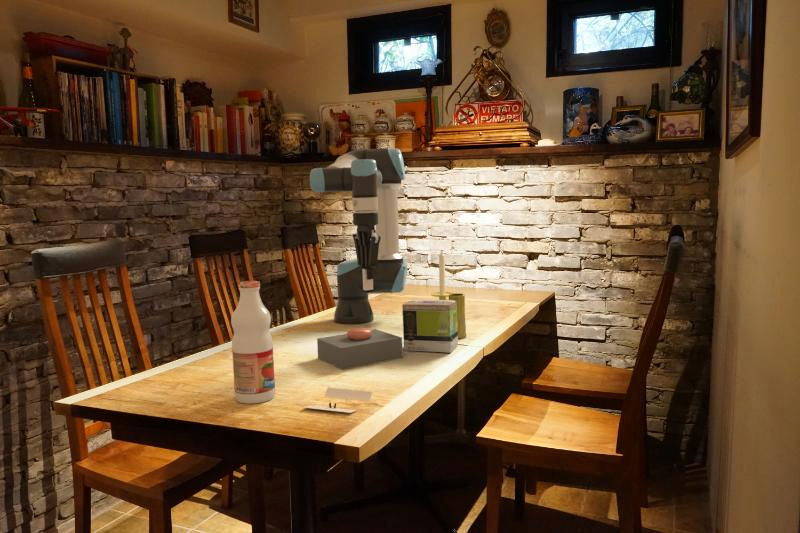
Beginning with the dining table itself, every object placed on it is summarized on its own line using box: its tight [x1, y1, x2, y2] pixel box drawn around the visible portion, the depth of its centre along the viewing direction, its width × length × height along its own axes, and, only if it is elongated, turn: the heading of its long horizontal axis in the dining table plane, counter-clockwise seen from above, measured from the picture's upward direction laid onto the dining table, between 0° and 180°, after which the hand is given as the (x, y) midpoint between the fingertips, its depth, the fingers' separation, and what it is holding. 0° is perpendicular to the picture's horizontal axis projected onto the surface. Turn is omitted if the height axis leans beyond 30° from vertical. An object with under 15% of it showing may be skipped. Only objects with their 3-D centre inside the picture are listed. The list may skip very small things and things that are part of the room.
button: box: [346, 327, 372, 341], centre depth 180 cm, size 7×7×8 cm
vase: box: [448, 292, 467, 340], centre depth 204 cm, size 6×6×14 cm
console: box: [316, 328, 403, 371], centre depth 181 cm, size 15×20×6 cm
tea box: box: [401, 299, 459, 354], centre depth 189 cm, size 15×10×15 cm, turn 71°
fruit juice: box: [230, 280, 276, 405], centre depth 145 cm, size 9×9×28 cm
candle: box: [431, 249, 455, 300], centre depth 232 cm, size 10×10×27 cm
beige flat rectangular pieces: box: [302, 387, 373, 414], centre depth 141 cm, size 12×12×2 cm
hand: (368, 289), depth 187 cm, fingers closed
